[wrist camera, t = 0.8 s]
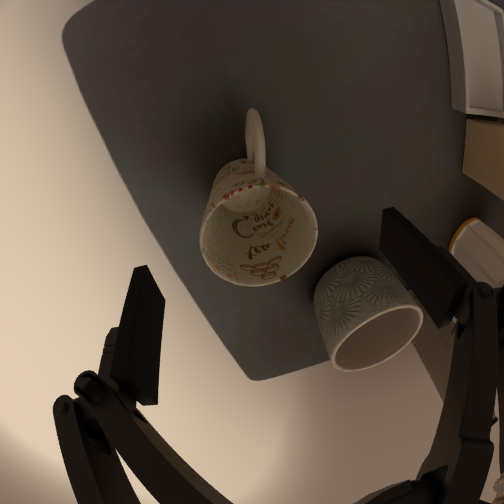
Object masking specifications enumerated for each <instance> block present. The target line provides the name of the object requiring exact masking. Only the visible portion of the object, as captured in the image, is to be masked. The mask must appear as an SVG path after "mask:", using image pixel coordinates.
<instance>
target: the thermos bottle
mask: <svg viewBox="0 0 504 504" xmlns="http://www.w3.org/2000/svg"><path fill="white" fill-rule="evenodd" d="M408 292H409V294H410V295H411V296H412V298H413V299H414V300H415V302H416V303H417V304H418V306H419V307H420V308H421V310H422V312H423V322H422V325H421V327H420V329H419V331H418V333H417V334H416V336H415V337H414V338H413V339H412V341H411V342H412V344H413V345H414V347H415V348H416V350H417V352H418V354H419V356H420V358H421V360H422V362H423V364H424V366H425V367H426V369H427V371H428V373H429V375H430V377H431V379H432V381H433V383H434V385H435V387H436V389H437V391H438V392H439V394H440V397H441V399H442V401H443V403H444V400H445V395H446V390H447V385H448V379H449V374H450V367H451V361H452V353H453V345H454V335H455V331H454V333H453V335H450V334H451V331H452V329H453V327H454V325H455V323H454V322H453V320H452V321H451V323H450V324H449V325H447V326H445V327H443V328H441V329H438V328H437V326H436V325H435V323H434V322H433V320H432V319H431V317H430V316H429V314H428V313H427V311H426V310H425V309H424V307H423V306H422V304H421V303H420V302H419V300H418V299H417V297H416V296H415V295H414V293H413V292H412V291H411V289H410V290H409V291H408ZM497 421H498V419H497V417H496V416H495V412H494V414H493V420H492V425H494V424H495V423H496V422H497Z"/></svg>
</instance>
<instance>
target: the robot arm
mask: <svg viewBox="0 0 504 504" xmlns="http://www.w3.org/2000/svg"><path fill="white" fill-rule="evenodd" d="M379 249H380V251H381V252H382V253H383V254H384V255H385V257H386V258H387V259H388V260H389V262H390V263H391V264H392V266H393V267H394V268H395V269H396V271H397V272H398V273H399V275H400V276H401V277H402V278H403V280H404V281H405V282H406V284H407V285H408V286H409V288H410V289H411V291H412V292H413V293H414V295H415V296H416V297H417V299H418V300H419V302H420V303H421V304H422V306H423V307H424V309H425V310H426V311H427V313H428V314H429V316H430V317H431V319H432V320H433V322H434V323H435V325H436V326H437V328H438V329H441V328H443V327H445V326H447V325H449V324H450V323H451V321H452V319H453V317H454V316H455V318H456V319H457V322H456V324H455V325H454V327H453V329H452V331H451V334H450V335H453V333H454V331H455V335H454V345H453V353H452V361H451V367H450V374H449V379H448V385H447V390H446V395H445V400H444V404H443V409H442V413H441V416H440V421H439V424H438V428H437V431H436V435H435V438H434V441H433V445H432V447H431V450H430V453H429V455H428V456H427V458H426V459H425V460H424V462H423V464H422V466H421V468H420V470H419V473H418V475H417V477H416V480H412V481H410V480H406V481H403V482H400V483H397V484H393V485H390V486H388V487H385V488H383V489H381V490H378V491H376V492H373V493H371V494H369V495H367V496H366V497H364V498H362V499H361V500H359V501H357V502H356V503H354V504H491V503H488V502H485V501H482V500H479V499H480V496H481V493H482V491H483V488H484V485H485V482H486V478H487V475H488V472H489V468H490V464H491V461H492V457H493V452H494V445H493V443H492V442H491V441H490V431H491V426H492V420H493V414H494V406H495V398H496V388H497V393H498V403H499V424H500V444H499V462H500V473H501V477H500V479H498V480H497V481H496V482H495V484H494V487H493V488H494V491H495V492H497V494H496V498H495V499H494V501H493V503H492V504H504V284H503V286H502V287H499V288H492V287H491V286H490V285H489V284H488V283H485V282H480V281H479V282H477V281H476V280H475V279H474V278H473V277H472V276H471V275H470V274H469V272H468V271H467V270H466V269H465V268H464V267H463V266H462V265H461V264H459V262H458V261H457V259H455V257H454V256H453V255H452V254H451V253H450V252H449V251H447V250H446V249H444V248H442V247H437V248H436V247H435V246H434V245H433V244H432V243H431V242H430V241H429V240H428V239H427V238H426V237H425V236H424V235H423V234H422V233H421V232H420V231H419V230H418V229H417V228H416V227H415V226H414V225H413V224H412V223H411V222H410V221H409V220H407V219H406V218H405V217H404V216H403V215H402V214H401V213H400V212H399V211H398V210H396V209H395V208H394V207H391V208H386V209H383V212H382V225H381V236H380V245H379ZM164 309H165V299H164V297H163V295H162V294H161V291H160V289H159V288H158V286H157V284H156V282H155V280H154V278H153V276H152V274H151V272H150V270H149V268H148V266H147V265H144V266H139V267H135V268H134V270H133V274H132V277H131V281H130V285H129V289H128V292H127V296H126V299H125V303H124V307H123V312H122V316H121V320H120V324H119V327H114V328H111V330H110V331H109V333H108V335H107V336H106V340H105V344H104V349H103V355H102V357H101V362H100V367H99V372H98V375H97V374H96V373H95V372H94V371H90V370H88V371H84V372H83V373H81V374H80V375H79V376H78V377H77V378H76V381H75V383H74V392H75V393H76V394H77V395H78V396H79V398H76V399H72V398H71V397H69V396H68V395H62V396H60V397H58V398H57V399H56V401H55V402H54V405H53V415H54V421H55V426H56V431H57V436H58V440H59V445H60V449H61V453H62V456H63V460H64V464H65V467H66V471H67V474H68V477H69V480H70V483H71V486H72V489H73V492H74V494H75V497H76V500H77V502H78V504H141V503H140V501H139V499H138V497H137V496H136V494H135V492H134V490H133V488H132V486H131V484H130V482H129V479H128V477H127V475H126V473H125V471H124V468H123V466H122V464H121V462H120V459H119V457H118V454H117V452H116V450H117V451H118V453H119V454H120V456H121V457H122V458H123V460H124V461H125V462H126V464H127V465H128V467H129V468H130V469H131V470H132V472H133V473H134V474H135V476H136V477H137V478H138V479H139V480H140V482H141V483H142V484H143V485H144V486H145V488H146V489H147V490H148V491H149V492H150V493H151V495H152V496H153V497H154V498H155V499H156V500H157V501H158V502H159V503H160V504H233V503H232V502H231V501H229V500H228V499H227V498H225V497H224V496H223V495H222V494H220V493H219V492H218V491H217V490H216V489H215V488H213V487H212V486H211V485H210V484H209V483H208V482H206V481H205V480H204V479H203V478H202V477H201V476H200V475H199V474H198V473H197V472H196V471H195V470H193V469H192V468H191V467H190V466H189V465H188V464H187V463H186V462H185V461H184V460H183V459H182V458H181V457H180V456H179V455H178V454H177V453H176V452H175V451H174V450H173V449H172V448H171V447H170V446H169V445H168V443H167V442H166V441H165V440H164V439H163V438H162V437H161V436H160V434H159V433H158V432H157V431H156V430H155V429H154V428H153V426H152V425H151V424H150V423H149V422H148V421H147V420H146V418H145V417H144V416H143V415H142V413H141V412H140V411H139V410H138V409H137V408H136V401H138V402H139V403H140V404H141V405H143V406H146V405H158V385H159V368H160V352H161V340H162V329H163V319H164Z"/></svg>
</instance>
